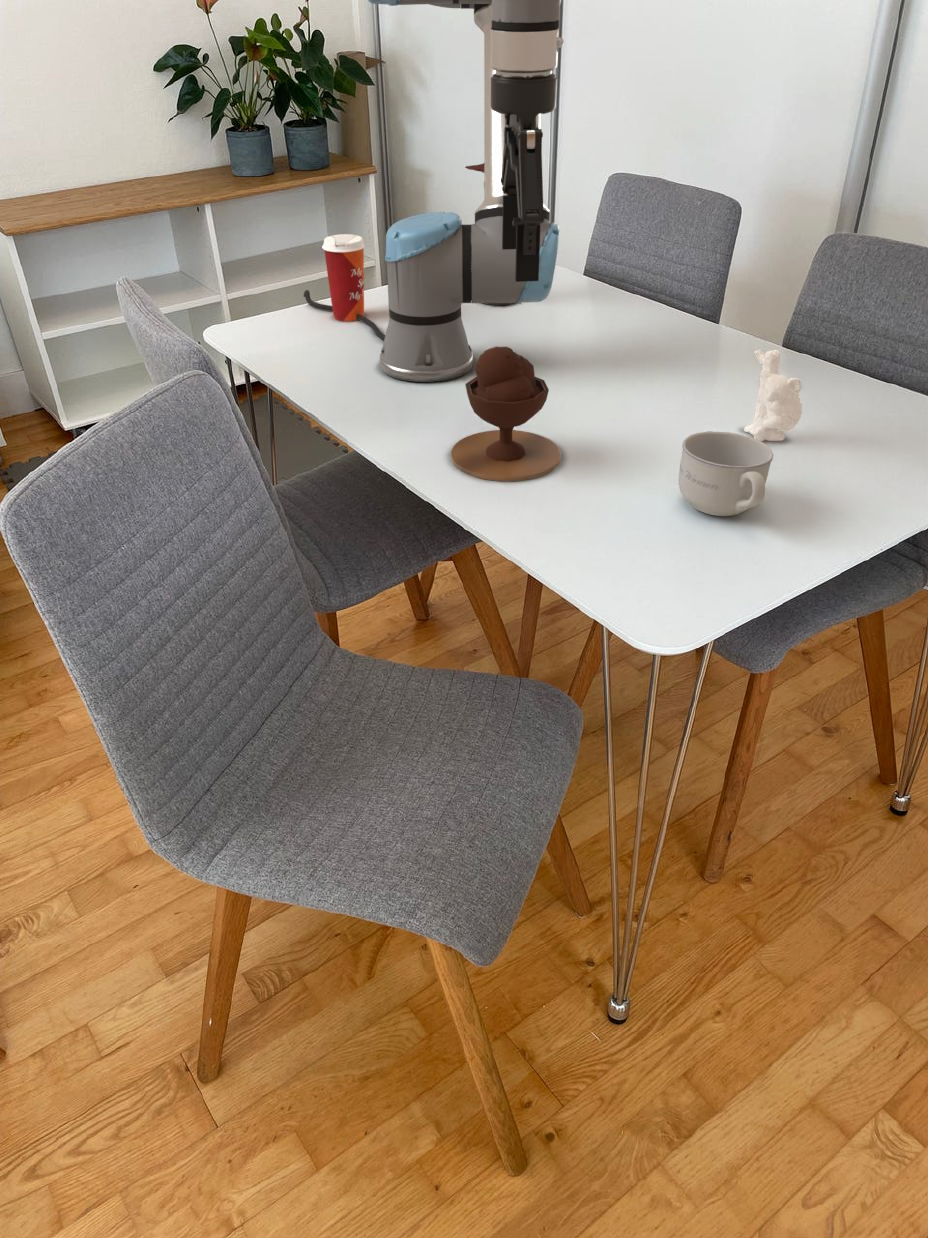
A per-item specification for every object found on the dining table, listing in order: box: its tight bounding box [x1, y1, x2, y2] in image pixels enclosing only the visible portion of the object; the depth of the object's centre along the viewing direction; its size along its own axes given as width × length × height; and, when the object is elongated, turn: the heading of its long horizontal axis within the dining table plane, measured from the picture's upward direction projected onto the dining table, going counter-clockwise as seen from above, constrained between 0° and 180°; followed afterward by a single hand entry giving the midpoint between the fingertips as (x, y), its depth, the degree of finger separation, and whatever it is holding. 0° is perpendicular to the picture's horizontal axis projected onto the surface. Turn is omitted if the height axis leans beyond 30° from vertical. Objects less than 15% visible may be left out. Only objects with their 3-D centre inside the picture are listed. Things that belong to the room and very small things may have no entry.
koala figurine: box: [743, 348, 803, 442], centre depth 139 cm, size 8×7×12 cm
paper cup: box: [321, 233, 366, 322], centre depth 183 cm, size 8×8×14 cm
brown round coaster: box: [450, 429, 562, 482], centre depth 138 cm, size 15×15×1 cm
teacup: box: [678, 430, 774, 517], centre depth 123 cm, size 14×11×8 cm
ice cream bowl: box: [465, 346, 550, 461], centre depth 133 cm, size 11×11×15 cm
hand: (519, 263), depth 126 cm, fingers open, 13 cm apart
